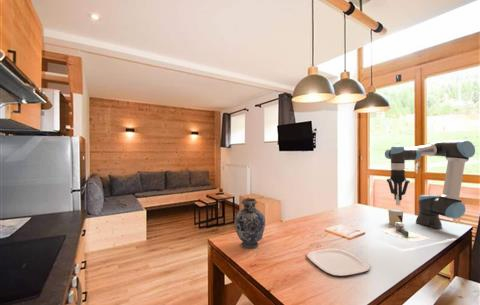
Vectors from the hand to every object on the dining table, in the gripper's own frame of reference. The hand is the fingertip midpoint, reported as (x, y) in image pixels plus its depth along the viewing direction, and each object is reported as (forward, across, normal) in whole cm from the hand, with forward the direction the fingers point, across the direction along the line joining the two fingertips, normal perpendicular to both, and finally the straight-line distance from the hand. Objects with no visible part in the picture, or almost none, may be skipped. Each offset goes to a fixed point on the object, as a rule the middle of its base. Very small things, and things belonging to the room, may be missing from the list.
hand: (398, 204), depth 149 cm
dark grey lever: (+19, +1, +3) cm, 20 cm away
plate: (+21, -3, -66) cm, 69 cm away
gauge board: (+21, +2, +2) cm, 21 cm away
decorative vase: (+20, -45, -90) cm, 103 cm away
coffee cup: (+22, -10, +21) cm, 31 cm away
